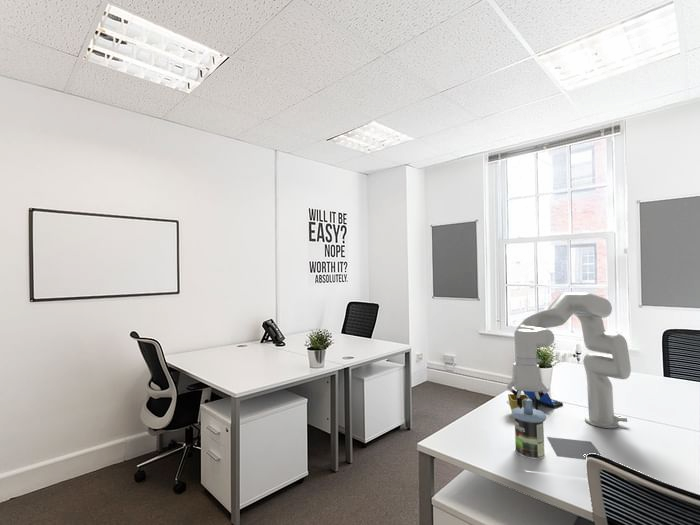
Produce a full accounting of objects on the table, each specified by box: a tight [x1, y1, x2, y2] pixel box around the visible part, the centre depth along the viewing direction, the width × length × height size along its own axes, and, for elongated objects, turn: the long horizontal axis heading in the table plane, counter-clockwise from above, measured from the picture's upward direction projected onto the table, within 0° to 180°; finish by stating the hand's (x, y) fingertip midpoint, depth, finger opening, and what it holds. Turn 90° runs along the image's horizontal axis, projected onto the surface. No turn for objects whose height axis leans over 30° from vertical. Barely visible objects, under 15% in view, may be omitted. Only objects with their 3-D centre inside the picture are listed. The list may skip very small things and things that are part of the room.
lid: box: [511, 399, 547, 423], centre depth 136 cm, size 12×12×6 cm
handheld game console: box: [522, 391, 564, 409], centre depth 186 cm, size 16×13×9 cm
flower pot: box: [507, 393, 529, 411], centre depth 170 cm, size 9×9×9 cm
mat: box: [546, 436, 602, 460], centre depth 137 cm, size 16×16×1 cm
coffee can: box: [514, 418, 546, 460], centre depth 136 cm, size 10×10×14 cm
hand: (528, 407), depth 136 cm, fingers open, 4 cm apart
